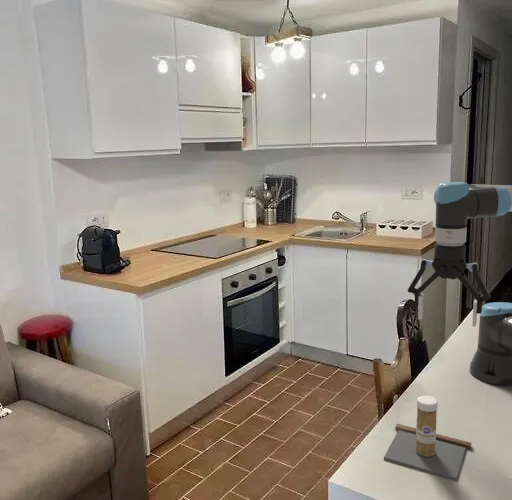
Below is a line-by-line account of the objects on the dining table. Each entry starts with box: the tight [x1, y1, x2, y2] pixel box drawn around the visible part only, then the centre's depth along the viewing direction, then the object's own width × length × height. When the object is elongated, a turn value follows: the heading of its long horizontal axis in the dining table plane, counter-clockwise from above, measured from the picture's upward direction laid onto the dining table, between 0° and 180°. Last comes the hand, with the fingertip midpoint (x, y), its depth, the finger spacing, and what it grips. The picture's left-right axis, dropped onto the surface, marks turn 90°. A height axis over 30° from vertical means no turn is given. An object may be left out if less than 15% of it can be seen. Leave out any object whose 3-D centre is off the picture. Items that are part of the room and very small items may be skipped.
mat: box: [383, 430, 466, 481], centre depth 123 cm, size 13×16×1 cm
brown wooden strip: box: [394, 423, 473, 450], centre depth 130 cm, size 2×18×1 cm, turn 60°
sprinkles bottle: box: [415, 395, 439, 457], centre depth 122 cm, size 5×5×13 cm
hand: (446, 321), depth 139 cm, fingers open, 13 cm apart
